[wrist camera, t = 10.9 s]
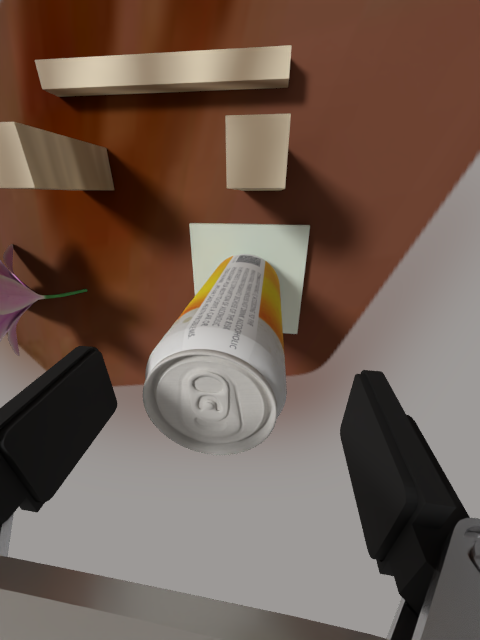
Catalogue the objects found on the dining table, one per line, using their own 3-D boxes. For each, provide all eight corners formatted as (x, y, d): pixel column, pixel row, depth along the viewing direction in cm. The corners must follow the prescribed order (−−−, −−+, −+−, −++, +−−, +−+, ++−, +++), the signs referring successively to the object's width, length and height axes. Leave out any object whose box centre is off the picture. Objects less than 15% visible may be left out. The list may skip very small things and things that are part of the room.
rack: (289, 57, 16) (302, -48, 9) (280, 190, 20) (285, 188, 13) (52, 70, 18) (-90, -11, 11) (81, 190, 22) (-12, 187, 15)
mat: (309, 224, 21) (310, 225, 20) (296, 331, 25) (297, 333, 25) (191, 222, 22) (189, 223, 21) (199, 325, 26) (197, 327, 26)
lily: (51, 193, 23) (-118, 190, 16) (121, 291, 22) (-33, 334, 15) (50, 276, 31) (-64, 298, 24) (101, 352, 30) (-5, 398, 23)
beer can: (214, 313, 25) (145, 452, 11) (212, 250, 22) (117, 337, 9) (276, 317, 24) (281, 469, 11) (282, 253, 21) (296, 349, 8)
